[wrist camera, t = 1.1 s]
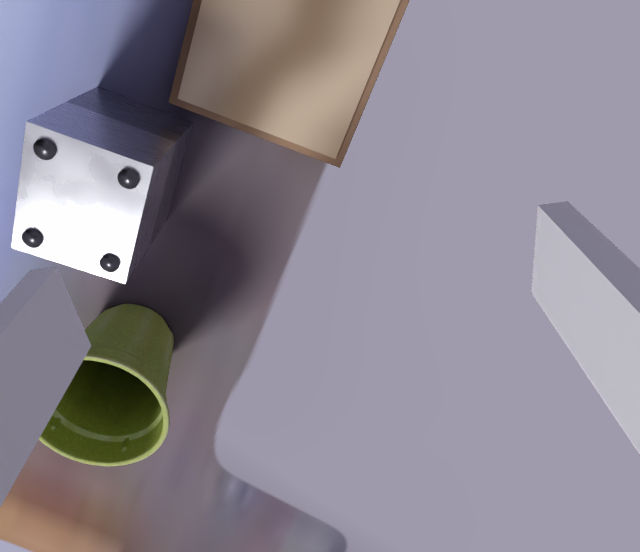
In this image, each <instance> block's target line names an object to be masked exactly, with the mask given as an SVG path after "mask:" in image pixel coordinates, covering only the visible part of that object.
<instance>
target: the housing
mask: <svg viewBox="0 0 640 552" xmlns="http://www.w3.org/2000/svg"><path fill="white" fill-rule="evenodd" d="M192 125H193V123H192V122H190V121H187V120H184V119H182V118H179V117H177V116H174V115H171V114H169V113H166V112H163V111H161V110H158V109H155V108H153V107H150V106H147V105H145V104H142V103H139V102H137V101H134V100H131V99H129V98H126V97H123V96H121V95H118V94H115V93H113V92H110V91H107V90H105V89H102V88H99V87H96V88H94V89H92V90H90V91H88V92H86V93H84V94H81V95H79V96H77V97H75V98H73V99H71V100H69V101H67V102H65V103H63V104H61V105H59V106H57V107H55V108H53V109H51V110H49V111H47V112H45V113H43V114H40V115H38V116H36V117H34V118H32V119H30V120H28V121H26V128H25V136H24V145H23V153H22V161H21V170H20V178H19V187H18V195H17V203H16V212H15V220H14V229H13V237H12V245H11V248H13V249H17V250H20V251H23V252H26V253H29V254H32V255H35V256H39V257H42V258H45V259H48V260H51V261H54V262H57V263H61V264H64V265H67V266H70V267H73V268H76V269H79V270H83V271H86V272H89V273H92V274H95V275H98V276H102V277H105V278H108V279H111V280H114V281H117V282H120V283H124V284H126V282H127V280H128V279H129V277H130V276H131V274H132V273H133V271H134V270H135V268H136V267H137V265H138V263H139V262H140V260H141V259H142V257H143V256H144V254H145V253H146V251H147V250H148V248H149V246H150V245H151V243H152V242H153V240H154V239H155V237H156V236H157V234H158V233H159V231H160V229H161V228H162V226H163V225H164V223H165V222H166V220H167V218H168V215H169V211H170V207H171V203H172V200H173V196H174V192H175V189H176V185H177V181H178V177H179V174H180V170H181V166H182V162H183V159H184V155H185V151H186V148H187V144H188V140H189V136H190V133H191V129H192Z"/></svg>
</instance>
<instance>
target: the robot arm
mask: <svg viewBox="0 0 640 552" xmlns="http://www.w3.org/2000/svg"><path fill="white" fill-rule="evenodd" d="M531 293H532V295H533V296H534V298H535V299H536V301H537V302H538V304H539V305H540V307H541V308H542V310H543V311H544V313H545V314H546V315H547V317H548V319H549V320H550V322H551V323H552V324H553V326H554V328H555V329H556V330H557V332H558V334H559V335H560V337H561V338H562V339H563V341H564V342H565V344H566V345H567V347H568V348H569V350H570V351H571V353H572V354H573V356H574V357H575V359H576V360H577V362H578V363H579V365H580V366H581V368H582V369H583V371H584V372H585V374H586V375H587V377H588V378H589V380H590V381H591V383H592V384H593V386H594V387H595V389H596V390H597V392H598V393H599V394H600V396H601V398H602V399H603V401H604V402H605V404H606V405H607V407H608V408H609V410H610V411H611V413H612V414H613V416H614V417H615V419H616V420H617V422H618V423H619V425H620V426H621V427H622V429H623V430H624V432H625V433H626V435H627V436H628V438H629V439H630V441H631V442H632V444H633V445H634V447H635V448H636V450H637V451H638V453H639V454H640V269H639V267H638V266H636V265H635V264H634V263H633V262H632V261H631V260H630V259H629V258H628V257H627V256H626V255H625V254H624V253H622V252H621V251H620V250H619V249H618V248H617V247H616V246H615V245H614V244H613V243H612V242H611V241H610V240H609V239H607V238H606V237H605V236H604V235H603V234H602V233H601V232H600V231H599V230H598V229H597V228H596V227H595V226H593V225H592V224H591V223H590V222H589V221H588V220H587V219H586V218H585V217H584V216H582V215H581V214H580V213H579V212H578V211H577V210H576V209H575V208H574V207H573V206H572V205H571V204H570V203H569V202H560V203H551V204H543V205H538V212H537V226H536V238H535V251H534V264H533V277H532V291H531ZM90 347H91V344H90V342H89V339H88V337H87V335H86V332H85V330H84V328H83V325H82V323H81V321H80V319H79V316H78V314H77V312H76V309H75V307H74V305H73V303H72V300H71V298H70V296H69V293H68V291H67V289H66V286H65V284H64V282H63V280H62V277H61V275H60V273H59V270H58V268H57V267H52V268H45V269H37V270H30V271H29V272H28V273H27V274H26V276H25V277H24V278H23V279H22V280H21V281H20V282H19V283H18V284H17V286H16V287H15V288H14V289H13V290H12V291H11V292H10V293H9V294H8V296H7V297H6V298H5V299H4V300H3V301H2V302H1V303H0V507H1V505H2V503H3V501H4V500H5V498H6V496H7V494H8V492H9V491H10V489H11V487H12V485H13V484H14V482H15V480H16V478H17V477H18V475H19V473H20V471H21V469H22V468H23V466H24V464H25V462H26V461H27V459H28V457H29V455H30V454H31V452H32V450H33V448H34V446H35V445H36V443H37V441H38V439H39V438H40V436H41V434H42V432H43V431H44V429H45V427H46V425H47V423H48V422H49V420H50V418H51V416H52V415H53V413H54V411H55V409H56V408H57V406H58V404H59V402H60V400H61V399H62V397H63V395H64V393H65V392H66V390H67V388H68V386H69V385H70V383H71V381H72V379H73V377H74V376H75V374H76V372H77V370H78V369H79V367H80V365H81V363H82V362H83V360H84V358H85V356H86V354H87V353H88V351H89V349H90Z"/></svg>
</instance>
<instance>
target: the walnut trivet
mask: <svg viewBox="0 0 640 552" xmlns="http://www.w3.org/2000/svg"><path fill="white" fill-rule="evenodd" d="M408 3H409V0H193V3H192V7H191V11H190V16H189V20H188V24H187V28H186V32H185V36H184V40H183V45H182V49H181V53H180V57H179V61H178V65H177V69H176V73H175V78H174V82H173V86H172V90H171V94H170V98H169V102H168V103H171V104H173V105H176V106H179V107H181V108H184V109H186V110H189V111H192V112H194V113H197V114H200V115H202V116H205V117H208V118H210V119H213V120H215V121H218V122H221V123H223V124H226V125H229V126H231V127H234V128H237V129H239V130H242V131H244V132H247V133H250V134H252V135H255V136H258V137H260V138H263V139H265V140H268V141H271V142H273V143H276V144H279V145H281V146H284V147H287V148H289V149H292V150H294V151H297V152H300V153H302V154H305V155H308V156H310V157H313V158H316V159H318V160H321V161H323V162H326V163H329V164H331V165H334V166H337V167H340V166H341V164H342V161H343V159H344V156H345V154H346V152H347V149H348V147H349V144H350V142H351V140H352V137H353V135H354V132H355V130H356V128H357V125H358V123H359V120H360V118H361V115H362V113H363V111H364V108H365V106H366V103H367V101H368V99H369V96H370V94H371V92H372V89H373V87H374V84H375V82H376V80H377V77H378V75H379V72H380V70H381V67H382V65H383V63H384V60H385V58H386V55H387V53H388V51H389V48H390V46H391V43H392V41H393V39H394V36H395V34H396V31H397V29H398V27H399V24H400V22H401V19H402V17H403V15H404V12H405V10H406V7H407V5H408Z"/></svg>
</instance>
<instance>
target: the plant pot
mask: <svg viewBox="0 0 640 552" xmlns="http://www.w3.org/2000/svg"><path fill="white" fill-rule="evenodd" d="M85 332H86V335H87V337H88V339H89V342H90V344H91V347H90V349H89V351H88V353H87V354H86V356H85V358H84V360H83V362H82V363H81V365H80V367H79V369H78V370H77V372H76V374H75V376H74V377H73V379H72V381H71V383H70V385H69V386H68V388H67V390H66V392H65V393H64V395H63V397H62V399H61V400H60V402H59V404H58V406H57V408H56V409H55V411H54V413H53V415H52V416H51V418H50V420H49V422H48V423H47V425H46V427H45V429H44V431H43V432H42V434H41V436H40V438H39V440H40V441H41V442H42V443H43V444H45V445H46V446H48V447H49V448H51V449H52V450H54V451H55V452H57V453H59V454H61V455H62V456H64V457H67V458H69V459H72V460H75V461H79V462H82V463H86V464H90V465H99V466H119V465H126V464H131V463H134V462H137V461H140V460H142V459H144V458H146V457H148V456H149V455H151V454H152V453H154V452H155V451H156V450H157V449H158V448H159V447H160V446H161V444H162V443H163V442H164V440H165V438H166V435H167V432H168V428H169V409H168V405H167V401H166V387H167V381H168V374H169V368H170V362H171V357H172V351H173V344H174V338H173V334H172V332H171V331H170V329H169V328H168V326H167V324H166V323H165V321H164V319H163V318H162V317H161V316H160V315H159V314H157V313H156V312H154V311H153V310H151V309H149V308H146V307H143V306H140V305H135V304H121V305H118V306H115V307H112V308H109V309H107V310H105V311H103V312H102V313H101V314H100V315H99V316H98V317H97V318H96V319H95V320H94V321H93V322H92V323H91V324H90V325H89V326H88V327H87V328H86V329H85Z"/></svg>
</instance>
